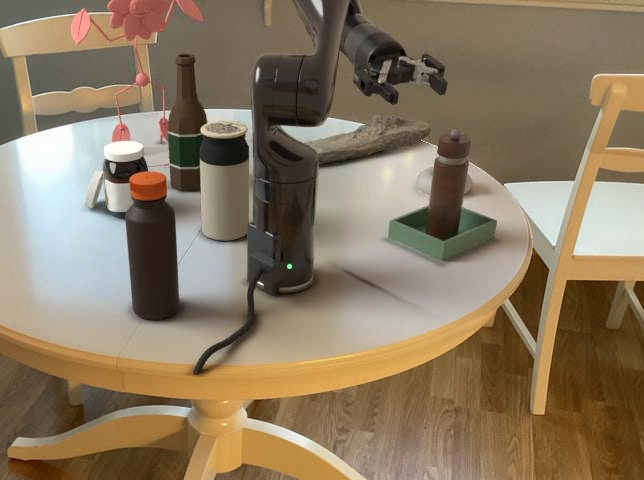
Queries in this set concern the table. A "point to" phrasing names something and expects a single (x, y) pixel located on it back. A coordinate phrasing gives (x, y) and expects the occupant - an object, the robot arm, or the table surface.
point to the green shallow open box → (413, 235)
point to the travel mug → (224, 180)
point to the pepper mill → (448, 185)
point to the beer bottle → (185, 129)
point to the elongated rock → (371, 138)
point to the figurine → (136, 18)
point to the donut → (426, 180)
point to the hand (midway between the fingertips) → (420, 94)
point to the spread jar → (117, 176)
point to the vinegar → (152, 247)
